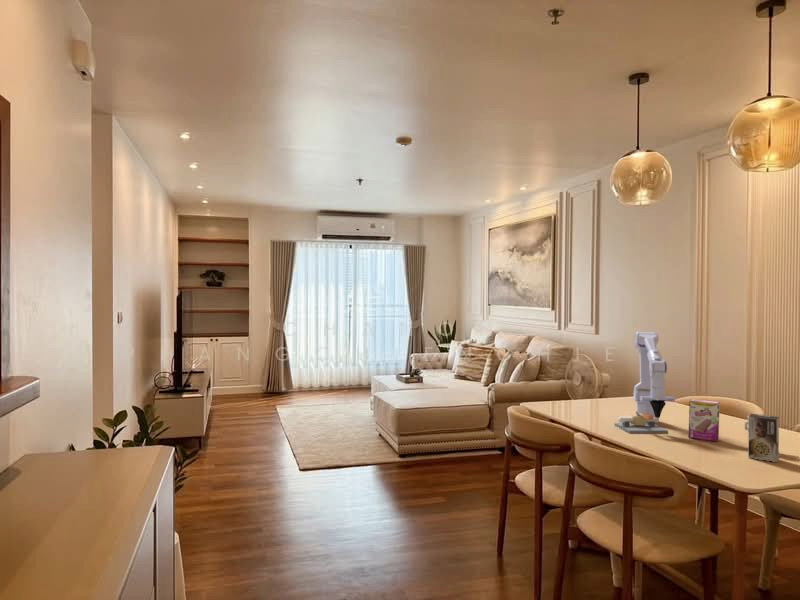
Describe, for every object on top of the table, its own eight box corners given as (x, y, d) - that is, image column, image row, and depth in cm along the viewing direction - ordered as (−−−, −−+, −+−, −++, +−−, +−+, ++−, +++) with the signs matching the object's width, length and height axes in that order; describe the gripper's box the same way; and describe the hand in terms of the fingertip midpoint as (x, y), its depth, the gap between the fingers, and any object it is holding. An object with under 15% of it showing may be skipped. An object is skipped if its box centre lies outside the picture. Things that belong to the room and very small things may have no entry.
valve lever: (634, 413, 245) (634, 409, 245) (639, 413, 246) (639, 409, 246) (648, 419, 233) (648, 415, 233) (653, 419, 234) (653, 415, 234)
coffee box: (779, 459, 198) (779, 416, 198) (776, 463, 193) (777, 419, 193) (750, 454, 204) (750, 413, 204) (747, 458, 199) (748, 415, 199)
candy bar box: (688, 438, 228) (688, 400, 227) (689, 435, 232) (690, 398, 232) (718, 442, 221) (719, 403, 221) (719, 440, 225) (719, 401, 225)
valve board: (651, 425, 250) (651, 412, 250) (668, 433, 236) (668, 418, 236) (614, 425, 249) (614, 412, 249) (629, 433, 235) (629, 418, 235)
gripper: (644, 388, 233) (644, 418, 233) (678, 388, 232) (678, 419, 232) (638, 385, 240) (638, 415, 240) (671, 386, 239) (670, 416, 239)
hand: (657, 417), depth 237 cm, fingers closed
